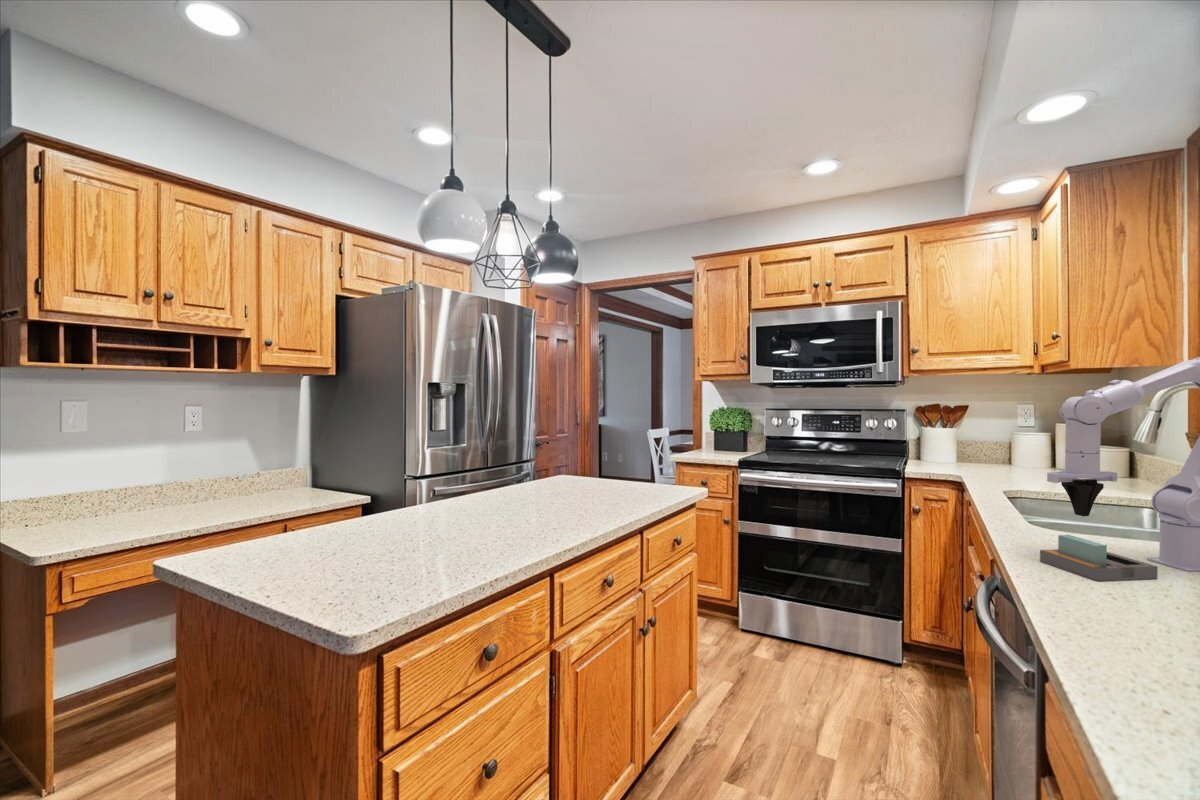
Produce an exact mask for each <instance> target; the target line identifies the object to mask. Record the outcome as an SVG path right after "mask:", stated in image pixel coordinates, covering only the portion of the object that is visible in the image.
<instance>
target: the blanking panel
mask: <svg viewBox="0 0 1200 800" xmlns="http://www.w3.org/2000/svg"><path fill="white" fill-rule="evenodd" d="M1057 539H1058V541H1057V543H1058V544H1057V546H1058V547H1057V549H1058V552H1059V553H1062V554H1065V555H1068V556H1071V557H1074V558H1077V559H1081V560H1084V561H1087V562H1090V563H1093V564H1096V565H1099V566H1106V563H1107V552H1108V548H1107V546H1108V545H1106V544H1104V543H1103V544H1102V543H1100V542H1095V541H1092V540H1090V539H1086V538H1081V537H1078V536H1074V535H1070V534H1059V535H1058V538H1057Z"/></svg>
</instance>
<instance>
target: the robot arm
mask: <svg viewBox="0 0 1200 800" xmlns="http://www.w3.org/2000/svg"><path fill="white" fill-rule="evenodd" d="M1185 383H1192V384H1193V385H1194V386H1196V387H1197V388H1198V389H1200V356H1198V357H1195V358H1194V359H1188V360H1184V361H1182V362H1179V363H1177V364H1175V365H1174V364H1173V365H1172V366H1170V367H1168V368H1164V369H1163V370H1160V371H1158V372H1156V373H1153V374H1151V375H1148V376H1146V377H1144V378H1141V379H1139V380H1136V381H1134V382H1133V381H1130V380H1128V379H1127V380H1126V379H1121V380H1120V379H1114V380H1110V381H1109V382H1108V384H1109V385H1106V386H1103V387H1101V388H1098V389H1095V390H1093V389H1089V390H1087V391H1085V394H1084V396H1071V397H1068V398H1067V399H1066V400H1065V402H1063V403H1062V405H1061V408H1059V409H1058V412H1059V415H1060V417H1062V418H1061V419H1063V420H1064V422H1065V433H1064V435H1065V439H1064V440H1065V444H1064V446H1065V450H1064V454H1065V456H1064V457H1065V460H1064V467H1065V468H1064V469H1062V470H1061V471H1054V472H1047V473H1046V474H1047V475H1046V479H1047V482H1049V483H1053V484H1059V483H1061V484H1060V485H1061V486H1062V487H1063V489H1064V490H1065V492H1066V493H1067V495H1068V497H1069V500H1070V503H1071V506H1072V509H1073V513H1074V515H1076V516H1081V517H1090V514H1091V511H1092V509H1093V506H1094V503H1095V501H1096V498H1097V497H1098V496H1099V494H1100V493H1101V492H1102V491H1103V490H1104V489H1105V488H1104V487H1105V486H1104V483H1100V482H1118V472H1115V471H1109V470H1108V471H1104V470H1101V423H1102V422H1104V420H1106V418H1107V417H1109V416H1111V415H1113V414H1116V413H1119V412H1121V411H1125V410H1127V409H1130V408H1133V407H1136V406H1138V405H1140V404H1141V403H1142V401H1143V399H1144V397H1145V396H1149V395H1151V394H1154V393H1157V392H1161V391H1164V390H1166V389H1169V388H1174V387H1176V386H1179V385H1182V384H1185ZM1150 501H1151V506H1152V508H1153V509H1154V510H1155V512H1157V513H1158V518H1159V551H1158V553H1159V554H1158V555H1159V556H1154V557H1151V556H1150V557H1147V561H1150V562H1154V563H1157V564H1160V565H1164V566H1168V567H1172V568H1174V569H1178V570H1181V571H1184V572H1185V571H1186V572H1200V435H1199V436H1198V438H1197V440H1196V441H1195V443H1194V445H1193V447H1192V450H1191V451H1190V452H1189V455H1188V457H1187V459H1186V460H1185V463H1184V464H1183V467H1182V468H1181V471H1180V472H1179V473H1178V474H1176V475H1173V476H1171V477H1169V478H1168V479H1167V480H1166V481H1165V483H1164V484H1163V486H1162V487H1160V488H1159V489H1157V490H1156V491H1155V492H1153V495H1152V497H1151V500H1150Z"/></svg>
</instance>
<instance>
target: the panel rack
mask: <svg viewBox="0 0 1200 800" xmlns="http://www.w3.org/2000/svg"><path fill="white" fill-rule="evenodd" d="M1039 562H1042V563H1045V564H1046V565H1050V566H1052V567H1054V568H1058V569H1061V570H1064V571H1066V572H1070V573H1072V574H1075V575H1078V576H1081V577H1084V578H1087V579H1089V580H1092V581H1095V582H1115V581H1139V580H1141V581H1143V580H1158V567H1159V566H1157V565H1153V564H1150V563H1146V562H1143V561H1140V560H1137V559H1133V558H1129V557H1127V556H1122V555H1119V554H1115V553H1113V552H1109V551H1107V563H1106V566H1099V565H1096V564H1093V563H1090V562H1087V561H1084V560H1081V559H1077V558H1074V557H1071V556H1068V555H1065V554H1062V553H1059V552H1058V548H1057V549H1040V550H1039Z"/></svg>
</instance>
